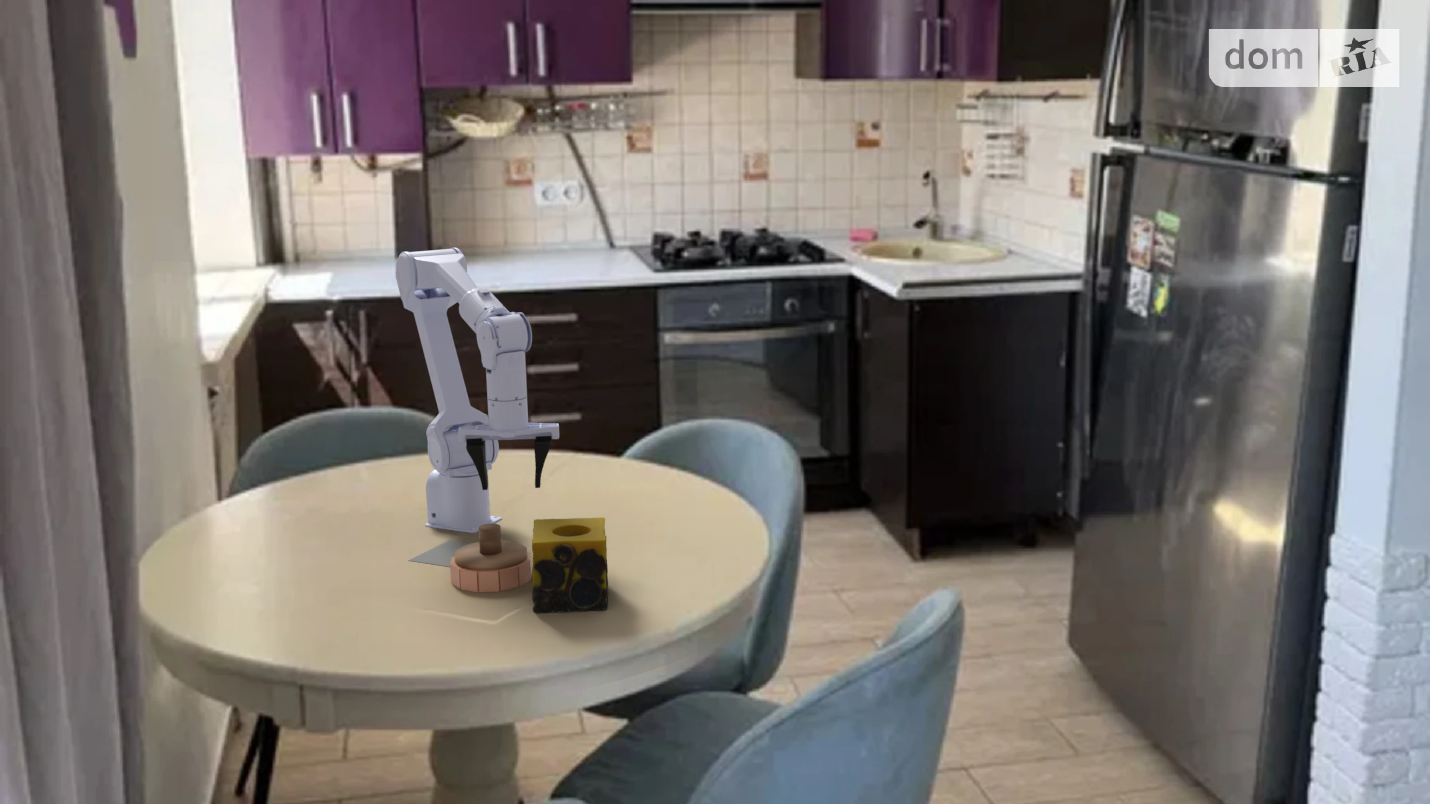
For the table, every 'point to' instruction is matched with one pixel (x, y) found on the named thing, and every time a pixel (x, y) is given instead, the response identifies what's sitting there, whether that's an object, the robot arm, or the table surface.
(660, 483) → the table surface
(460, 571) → the bowl
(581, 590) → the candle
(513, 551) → the lid
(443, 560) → the mat
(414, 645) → the table surface
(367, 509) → the table surface
